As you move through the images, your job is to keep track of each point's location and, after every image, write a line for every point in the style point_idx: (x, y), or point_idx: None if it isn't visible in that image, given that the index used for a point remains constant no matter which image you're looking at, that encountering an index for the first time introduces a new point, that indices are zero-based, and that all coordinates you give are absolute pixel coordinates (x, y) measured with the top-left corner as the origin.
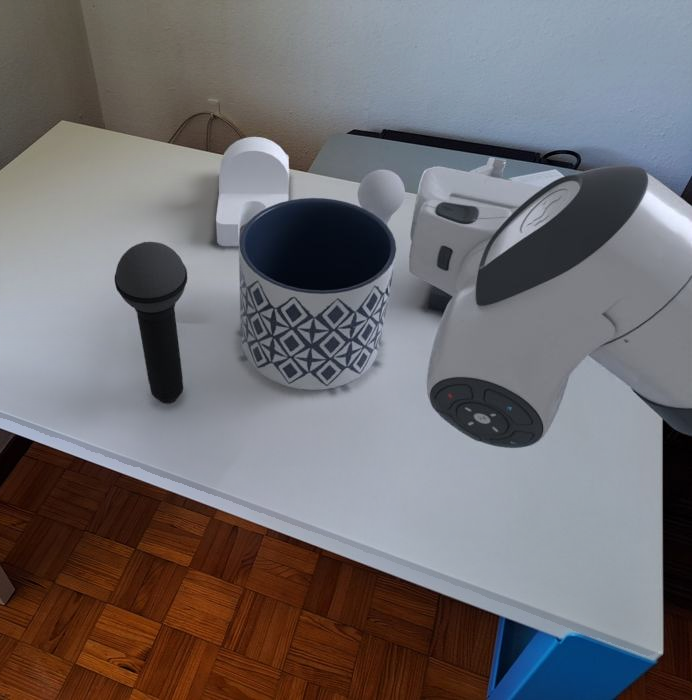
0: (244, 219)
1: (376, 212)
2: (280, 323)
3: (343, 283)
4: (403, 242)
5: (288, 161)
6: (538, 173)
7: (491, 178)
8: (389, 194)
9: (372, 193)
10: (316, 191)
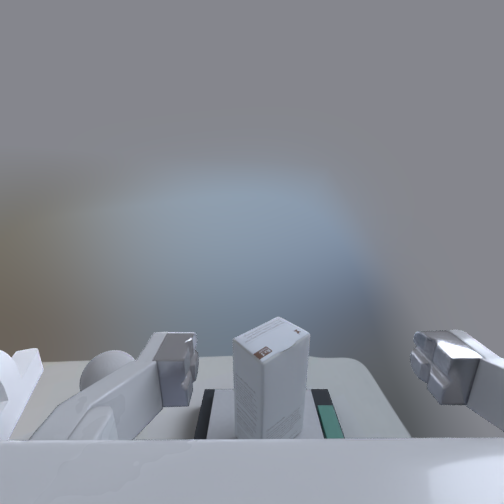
0: None
1: None
2: None
3: None
4: (153, 420)
5: (34, 356)
6: (263, 325)
7: (88, 465)
8: None
9: (90, 385)
10: (69, 378)
